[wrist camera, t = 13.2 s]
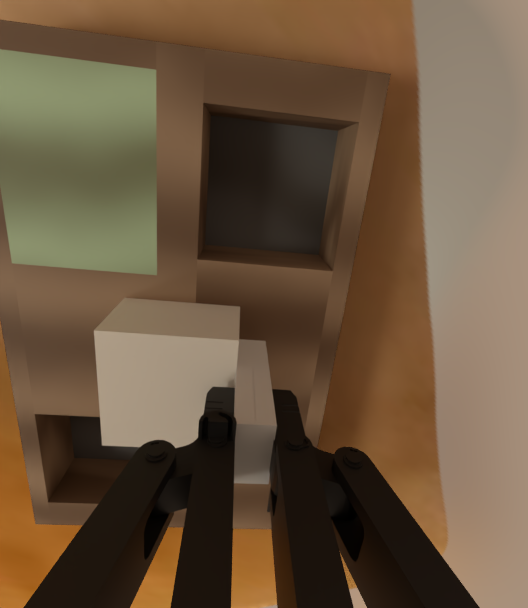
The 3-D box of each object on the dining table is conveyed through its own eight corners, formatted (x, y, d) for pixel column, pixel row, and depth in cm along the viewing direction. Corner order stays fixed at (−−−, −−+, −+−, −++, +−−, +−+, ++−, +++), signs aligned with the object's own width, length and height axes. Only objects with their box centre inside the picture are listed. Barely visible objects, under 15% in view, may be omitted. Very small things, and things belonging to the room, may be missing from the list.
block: (232, 400, 21) (229, 450, 17) (128, 395, 20) (102, 445, 17) (239, 306, 19) (239, 340, 15) (124, 297, 18) (93, 330, 15)
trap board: (293, 483, 29) (301, 530, 25) (64, 475, 27) (35, 524, 24) (361, 92, 19) (390, 73, 15) (10, 46, 18) (-53, 12, 14)
